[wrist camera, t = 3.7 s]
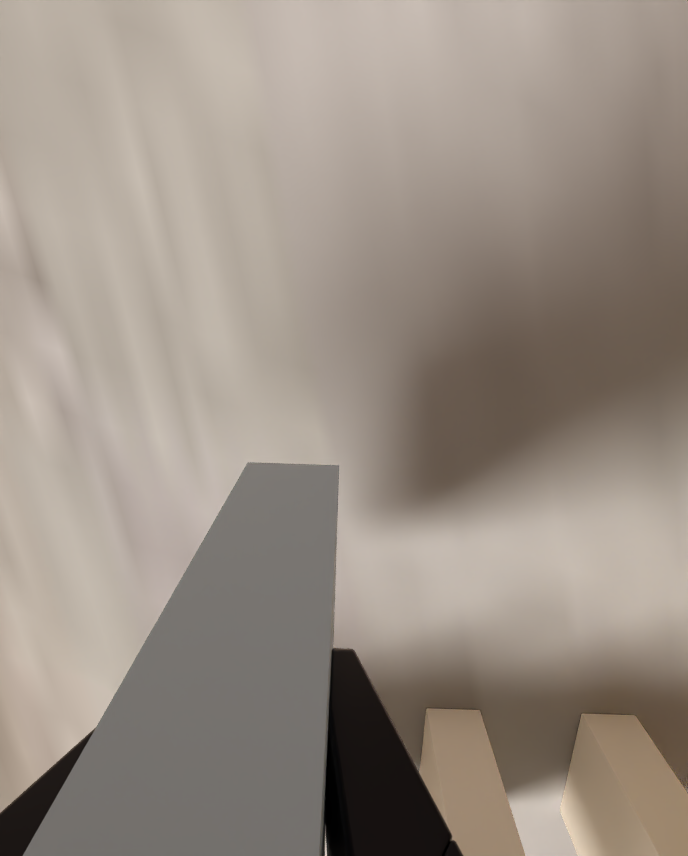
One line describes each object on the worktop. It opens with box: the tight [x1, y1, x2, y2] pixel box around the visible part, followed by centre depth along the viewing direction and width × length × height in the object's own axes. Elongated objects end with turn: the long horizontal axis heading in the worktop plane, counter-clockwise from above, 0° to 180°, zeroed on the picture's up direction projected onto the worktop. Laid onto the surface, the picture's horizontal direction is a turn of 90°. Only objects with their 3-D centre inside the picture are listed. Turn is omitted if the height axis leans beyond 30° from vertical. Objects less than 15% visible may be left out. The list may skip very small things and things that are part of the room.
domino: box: [23, 462, 339, 856], centre depth 6 cm, size 2×5×10 cm, turn 178°
